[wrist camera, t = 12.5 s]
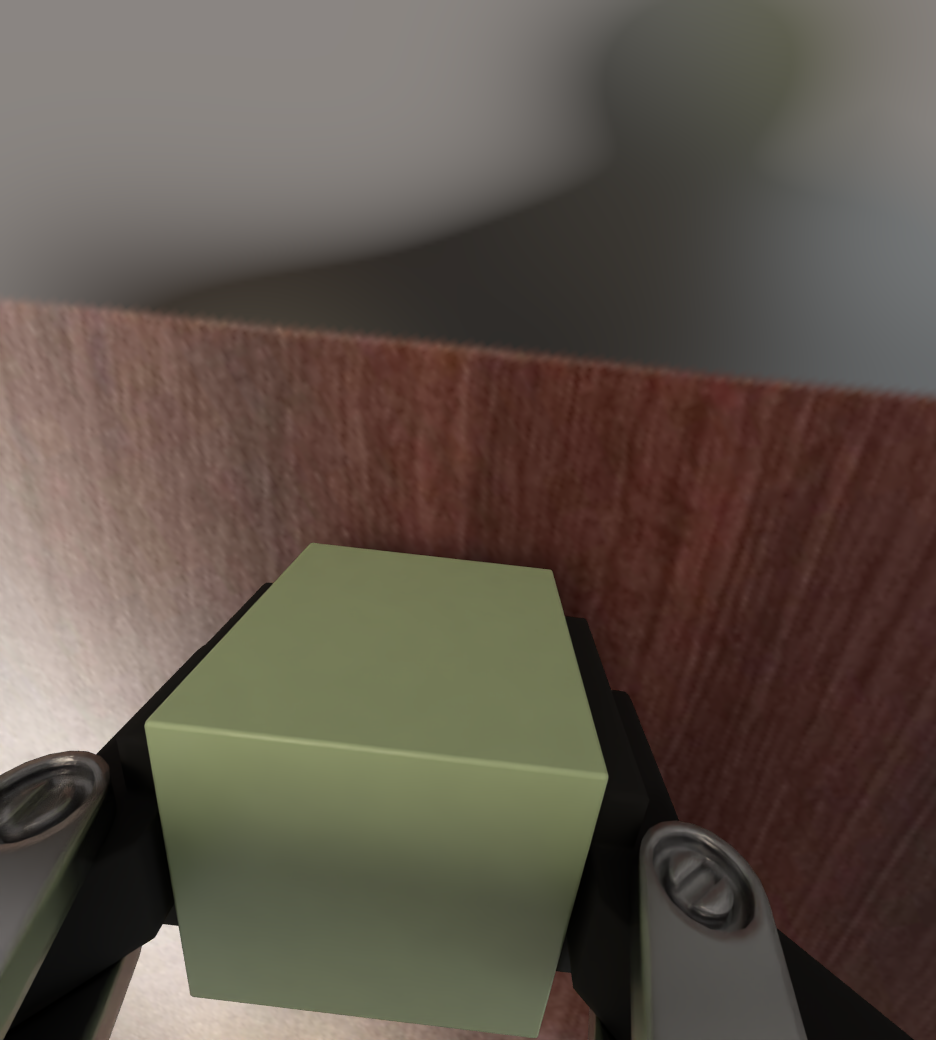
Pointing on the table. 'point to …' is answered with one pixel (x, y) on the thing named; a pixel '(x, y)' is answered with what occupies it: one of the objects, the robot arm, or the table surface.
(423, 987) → the sage block
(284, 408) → the table surface
